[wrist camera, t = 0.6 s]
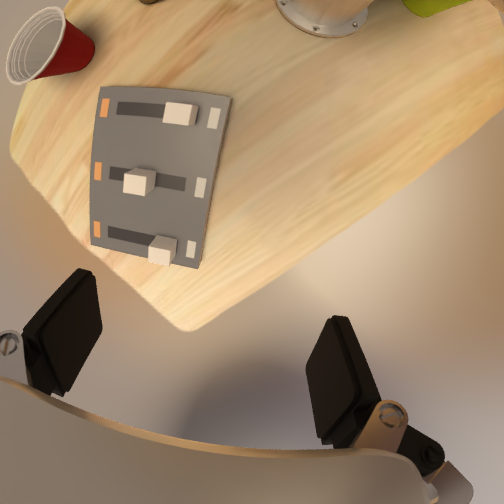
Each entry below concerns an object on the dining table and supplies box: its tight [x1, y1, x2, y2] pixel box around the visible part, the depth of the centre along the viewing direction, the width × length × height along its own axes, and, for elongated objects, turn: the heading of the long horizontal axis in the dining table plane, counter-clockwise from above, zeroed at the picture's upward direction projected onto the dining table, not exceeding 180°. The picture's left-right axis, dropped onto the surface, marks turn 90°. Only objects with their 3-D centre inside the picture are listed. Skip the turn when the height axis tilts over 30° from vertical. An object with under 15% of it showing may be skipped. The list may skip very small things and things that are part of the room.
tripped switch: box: [123, 168, 156, 196], centre depth 31 cm, size 2×3×4 cm
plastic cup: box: [6, 7, 95, 85], centre depth 21 cm, size 11×11×12 cm
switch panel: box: [90, 87, 232, 269], centre depth 34 cm, size 24×18×3 cm
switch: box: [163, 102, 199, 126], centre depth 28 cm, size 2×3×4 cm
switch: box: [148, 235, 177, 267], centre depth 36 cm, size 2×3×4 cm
